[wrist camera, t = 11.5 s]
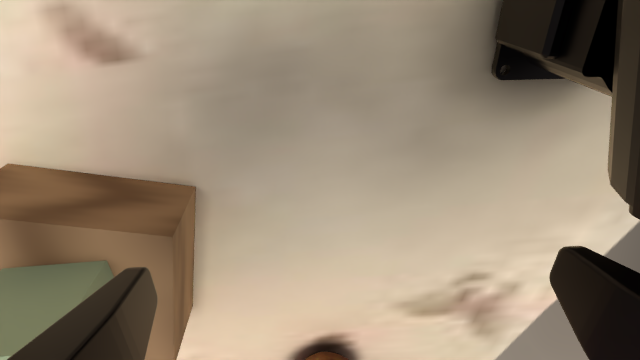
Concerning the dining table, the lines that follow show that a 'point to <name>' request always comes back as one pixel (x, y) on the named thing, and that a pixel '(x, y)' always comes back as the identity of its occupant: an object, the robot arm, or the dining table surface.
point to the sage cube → (43, 298)
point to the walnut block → (105, 234)
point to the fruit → (326, 356)
